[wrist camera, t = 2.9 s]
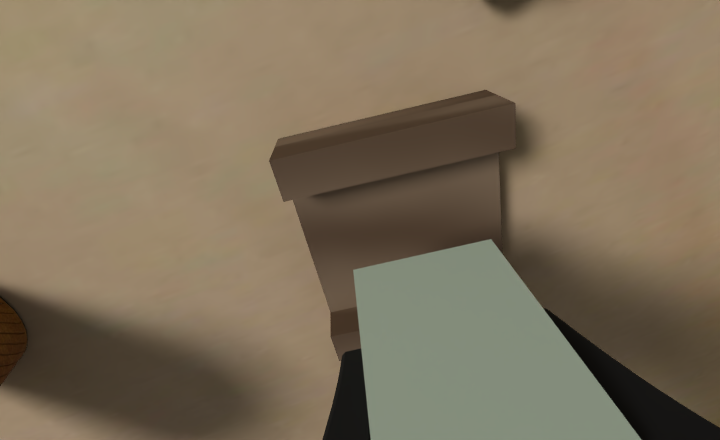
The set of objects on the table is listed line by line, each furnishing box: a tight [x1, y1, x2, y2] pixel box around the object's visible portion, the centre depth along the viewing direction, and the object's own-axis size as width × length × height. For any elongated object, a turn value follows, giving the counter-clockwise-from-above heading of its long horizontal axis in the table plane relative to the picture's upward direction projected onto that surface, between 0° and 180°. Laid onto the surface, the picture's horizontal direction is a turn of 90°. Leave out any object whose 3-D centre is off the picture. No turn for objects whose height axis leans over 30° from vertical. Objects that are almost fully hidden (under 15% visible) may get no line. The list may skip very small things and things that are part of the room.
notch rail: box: [269, 90, 516, 361], centre depth 19 cm, size 26×8×2 cm, turn 12°
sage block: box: [353, 239, 641, 440], centre depth 9 cm, size 4×4×6 cm
